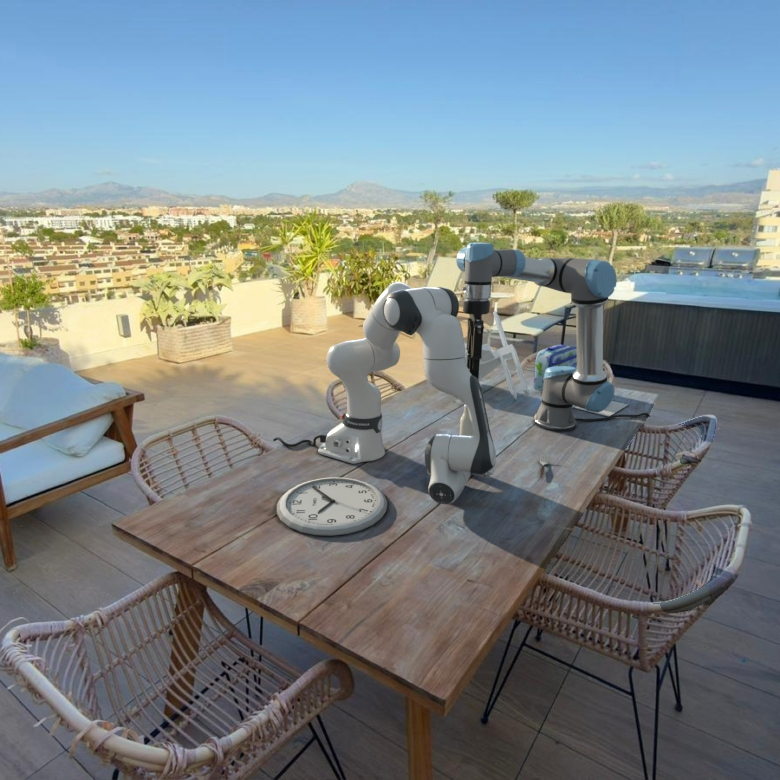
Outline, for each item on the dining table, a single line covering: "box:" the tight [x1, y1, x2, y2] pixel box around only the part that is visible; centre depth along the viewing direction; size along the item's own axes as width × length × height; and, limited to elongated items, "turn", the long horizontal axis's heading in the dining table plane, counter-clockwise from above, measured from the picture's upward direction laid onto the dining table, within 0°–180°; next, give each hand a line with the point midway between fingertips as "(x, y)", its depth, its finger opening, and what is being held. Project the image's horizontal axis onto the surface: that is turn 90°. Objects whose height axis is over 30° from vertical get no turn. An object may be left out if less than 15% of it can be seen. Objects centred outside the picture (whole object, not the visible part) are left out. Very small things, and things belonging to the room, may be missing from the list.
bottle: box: [458, 404, 473, 436], centre depth 161 cm, size 5×5×22 cm
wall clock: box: [276, 476, 388, 537], centre depth 142 cm, size 30×2×30 cm
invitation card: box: [573, 400, 629, 417], centre depth 226 cm, size 21×1×15 cm
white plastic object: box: [464, 310, 531, 400], centre depth 245 cm, size 37×45×31 cm
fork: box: [539, 453, 550, 478], centre depth 166 cm, size 3×16×2 cm, turn 160°
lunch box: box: [533, 344, 577, 392], centre depth 247 cm, size 26×11×21 cm, turn 134°
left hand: (466, 451), depth 163 cm, fingers closed on bottle, 5 cm apart
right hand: (472, 377), depth 155 cm, fingers closed on cap, 4 cm apart
